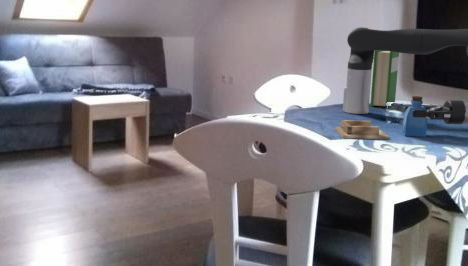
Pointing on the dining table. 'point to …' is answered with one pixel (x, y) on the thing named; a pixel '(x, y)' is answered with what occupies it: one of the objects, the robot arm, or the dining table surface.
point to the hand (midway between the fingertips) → (409, 111)
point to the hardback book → (384, 77)
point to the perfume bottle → (414, 119)
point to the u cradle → (360, 130)
